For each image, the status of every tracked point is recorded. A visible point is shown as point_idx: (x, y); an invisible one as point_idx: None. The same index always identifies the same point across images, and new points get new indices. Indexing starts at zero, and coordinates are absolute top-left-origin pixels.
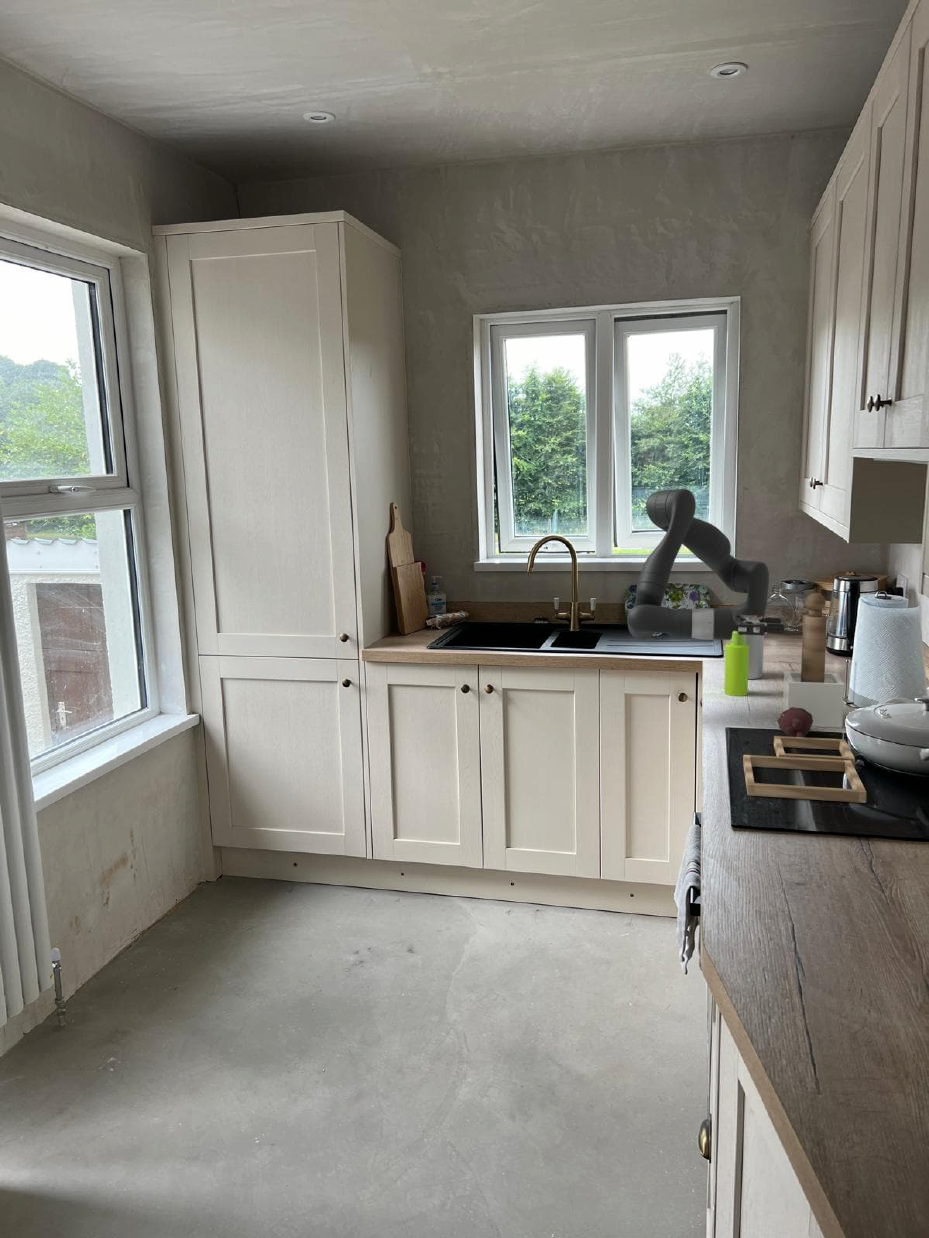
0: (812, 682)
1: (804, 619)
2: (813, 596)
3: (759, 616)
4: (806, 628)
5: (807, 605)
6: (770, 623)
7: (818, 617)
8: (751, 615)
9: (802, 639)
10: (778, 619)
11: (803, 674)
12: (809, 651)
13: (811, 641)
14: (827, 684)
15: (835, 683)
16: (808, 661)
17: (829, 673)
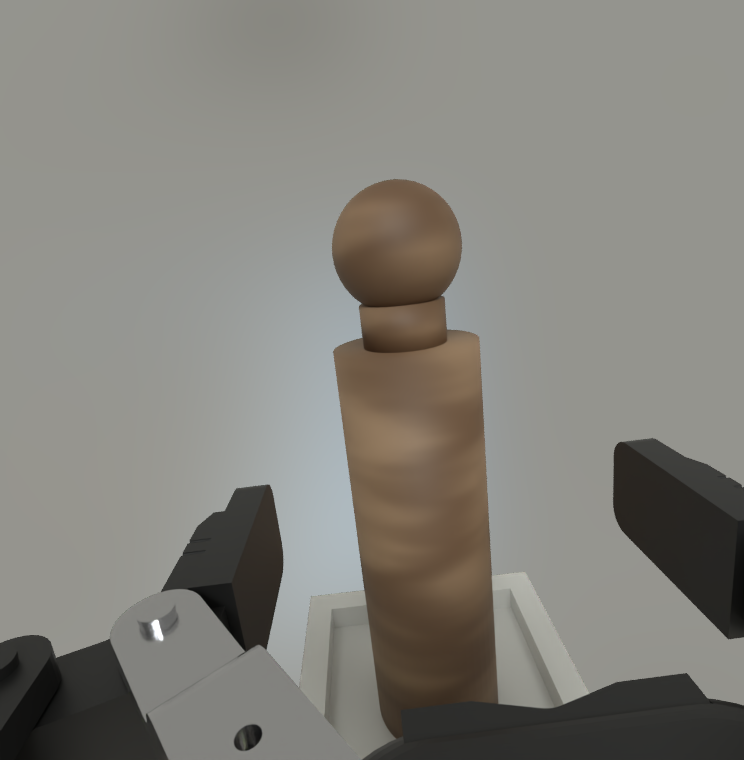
0: (554, 673)
1: (446, 374)
2: (436, 194)
3: (53, 659)
4: (467, 427)
5: (433, 267)
6: (714, 499)
7: (455, 334)
8: (184, 751)
9: (431, 519)
10: (266, 502)
11: (477, 698)
12: (487, 550)
13: (485, 487)
14: (549, 619)
15: (520, 594)
16: (489, 606)
17: (323, 617)
